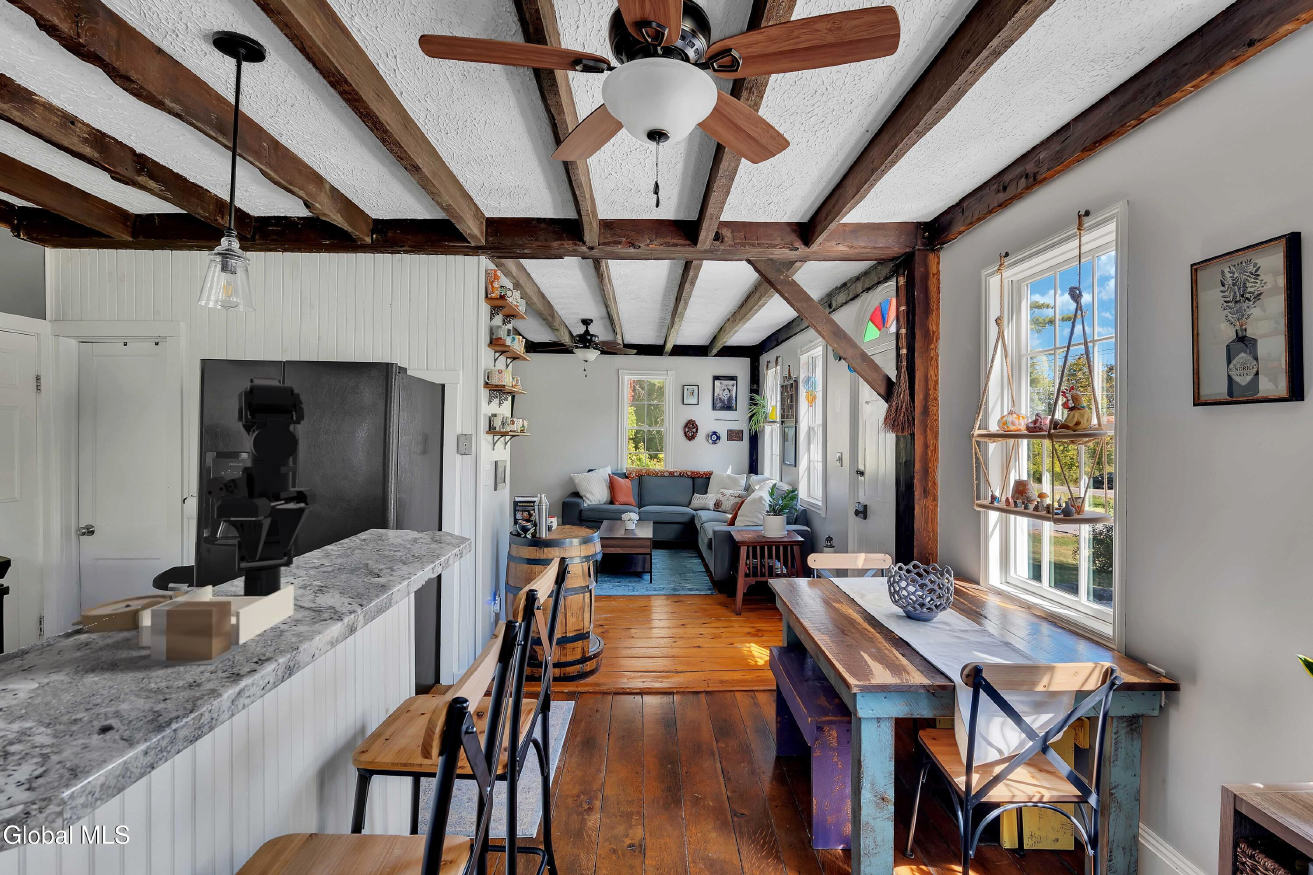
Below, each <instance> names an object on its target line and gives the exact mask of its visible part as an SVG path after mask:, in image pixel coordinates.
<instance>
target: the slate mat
mask: <svg viewBox="0 0 1313 875" xmlns="http://www.w3.org/2000/svg"><path fill="white" fill-rule="evenodd" d="M244 647H245V645H244V644H240V645H231V649H230V650H228V651H226V652H224V653H223V654H221V655H219V656H217V657H216V658H214V659H212V660H158V661H151V656H150V657H148V658H145V659H144V660H141V661H139V662H137V663H135V664H134V665H133V667H165V666H167V667H168V666H169V667H170V666H171V667H172V666H213V665H215V664H217V663H219V662H221V660H223V659H225V658H227V657H228V656H230V655H233V653H235V652H237V651H238V650H240V649H242V648H244Z"/></svg>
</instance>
